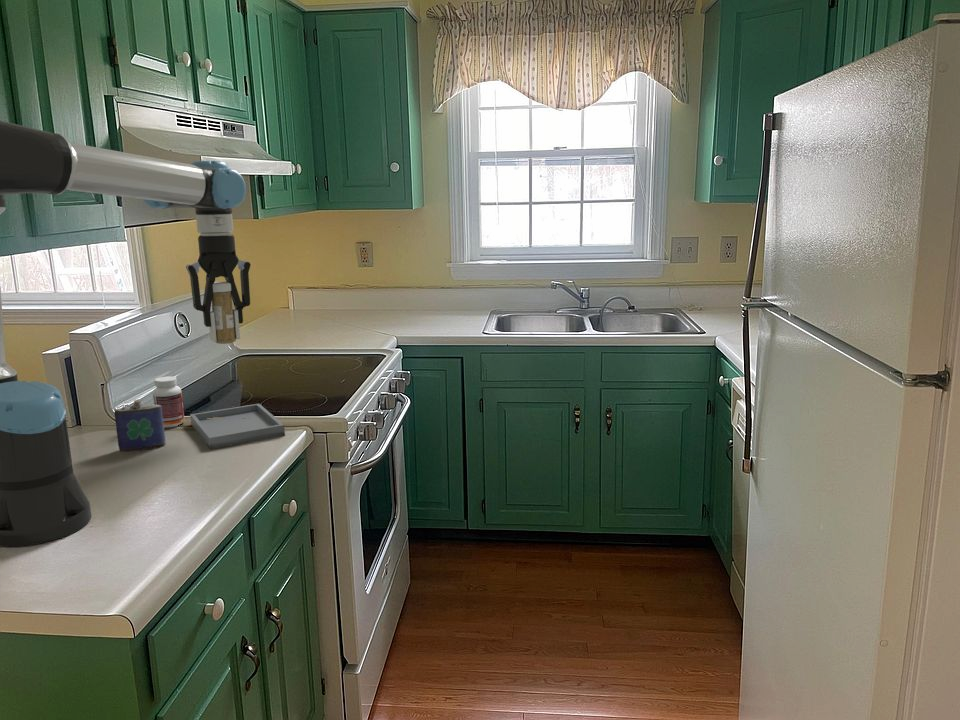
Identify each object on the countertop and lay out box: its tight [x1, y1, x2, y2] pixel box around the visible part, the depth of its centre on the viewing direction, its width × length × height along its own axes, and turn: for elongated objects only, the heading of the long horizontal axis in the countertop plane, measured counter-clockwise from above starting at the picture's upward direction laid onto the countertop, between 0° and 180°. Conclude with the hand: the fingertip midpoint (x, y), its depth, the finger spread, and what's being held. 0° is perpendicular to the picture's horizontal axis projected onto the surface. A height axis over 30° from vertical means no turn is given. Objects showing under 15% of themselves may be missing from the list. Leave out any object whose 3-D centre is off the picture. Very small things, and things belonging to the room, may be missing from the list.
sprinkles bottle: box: [211, 281, 237, 345], centre depth 169 cm, size 5×5×14 cm
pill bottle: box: [152, 375, 185, 429], centre depth 176 cm, size 6×6×11 cm
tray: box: [189, 403, 286, 450], centre depth 172 cm, size 16×20×2 cm
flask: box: [114, 398, 167, 453], centre depth 160 cm, size 9×3×11 cm, turn 112°
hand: (225, 339), depth 170 cm, fingers closed on sprinkles bottle, 4 cm apart
